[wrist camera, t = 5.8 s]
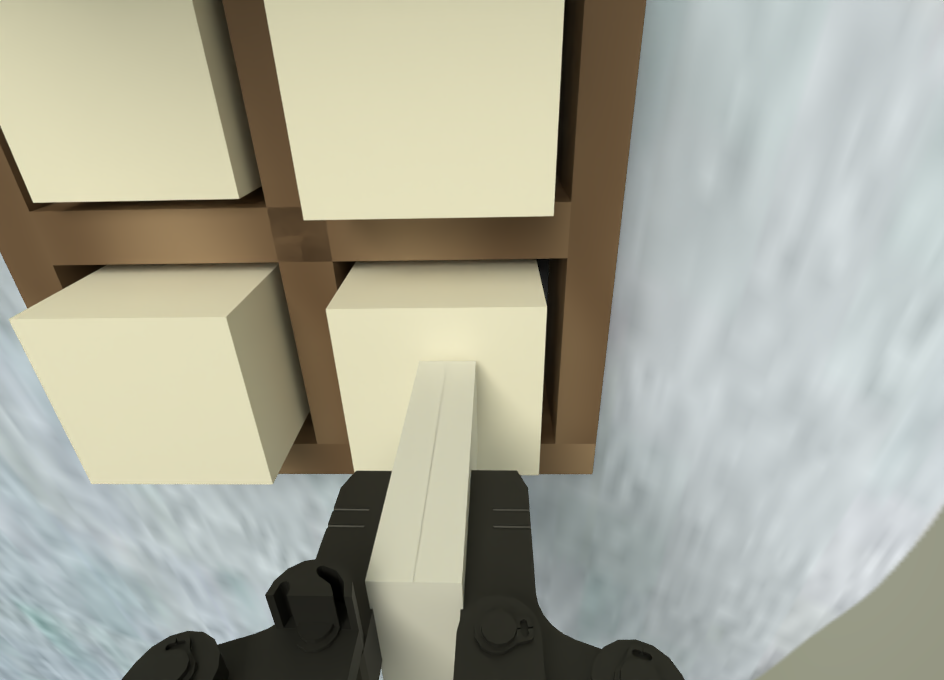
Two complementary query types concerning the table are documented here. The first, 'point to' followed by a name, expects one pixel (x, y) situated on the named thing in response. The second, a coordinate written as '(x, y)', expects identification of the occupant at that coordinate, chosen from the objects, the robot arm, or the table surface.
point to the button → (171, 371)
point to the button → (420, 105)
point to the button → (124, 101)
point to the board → (380, 232)
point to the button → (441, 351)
